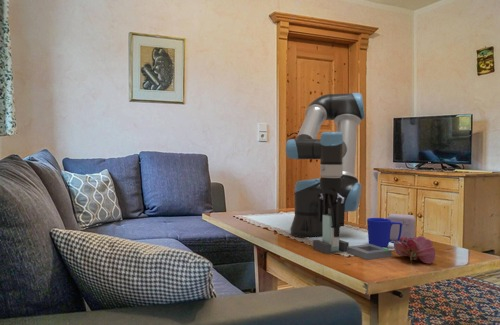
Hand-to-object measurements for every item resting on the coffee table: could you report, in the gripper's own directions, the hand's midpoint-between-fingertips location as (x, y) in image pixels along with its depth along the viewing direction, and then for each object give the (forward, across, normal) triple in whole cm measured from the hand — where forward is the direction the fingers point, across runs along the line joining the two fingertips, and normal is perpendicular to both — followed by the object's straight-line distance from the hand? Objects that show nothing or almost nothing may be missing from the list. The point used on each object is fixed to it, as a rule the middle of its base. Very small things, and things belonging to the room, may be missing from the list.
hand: (330, 244), depth 135 cm
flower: (+3, +20, +17) cm, 27 cm away
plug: (+2, 0, 0) cm, 2 cm away
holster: (+2, 0, 0) cm, 2 cm away
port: (+2, +10, +8) cm, 13 cm away
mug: (+3, +2, +22) cm, 22 cm away
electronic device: (+3, -4, +36) cm, 36 cm away
